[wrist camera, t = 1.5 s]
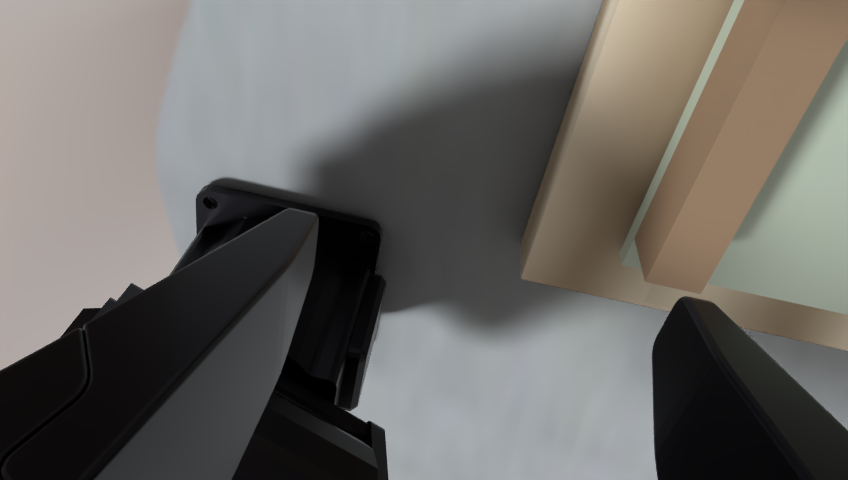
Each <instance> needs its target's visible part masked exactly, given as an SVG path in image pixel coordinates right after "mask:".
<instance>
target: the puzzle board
mask: <svg viewBox="0 0 848 480" xmlns="http://www.w3.org/2000/svg"><path fill="white" fill-rule="evenodd" d="M733 2H734V0H603V2H602V5H601V8H600V11H599V14H598V17H597V20H596V23H595V26H594V29H593V32H592V34H591V37H590V40H589V43H588V46H587V49H586V52H585V55H584V58H583V61H582V64H581V67H580V70H579V73H578V76H577V79H576V82H575V85H574V88H573V90H572V93H571V96H570V99H569V102H568V105H567V108H566V111H565V114H564V117H563V120H562V123H561V126H560V129H559V132H558V135H557V138H556V141H555V144H554V147H553V149H552V152H551V155H550V158H549V161H548V164H547V167H546V170H545V173H544V176H543V179H542V182H541V185H540V188H539V191H538V194H537V197H536V200H535V203H534V205H533V208H532V211H531V214H530V217H529V220H528V223H527V226H526V229H525V232H524V235H523V238H522V241H521V279H523V280H528V281H532V282H537V283H541V284H546V285H550V286H555V287H559V288H564V289H568V290H573V291H578V292H582V293H587V294H591V295H596V296H600V297H605V298H609V299H614V300H618V301H623V302H628V303H632V304H637V305H641V306H646V307H650V308H655V309H659V310H664V311H668V312H671V310H672V308H673V306H674V304H675V303H676V301H677V300H678V299H679V298H681V297H684V296H689V297H694V298H698V299H703V300H707V301H711V302H713V303H715V304H716V305H717V306H718V307H719V308H720V309H721V310H722V311H723V312H724V313H725V314H726V315H727V316H728V317H730V318H731V319H732V320H733V321H734V322H735V323H736V324H737V325H738V326H739V327H741V328H746V329H750V330H755V331H759V332H764V333H768V334H773V335H778V336H782V337H787V338H791V339H796V340H800V341H805V342H809V343H814V344H818V345H823V346H828V347H832V348H837V349H841V350H846V351H848V315H846V314H842V313H837V312H833V311H828V310H824V309H819V308H815V307H810V306H806V305H801V304H796V303H792V302H787V301H783V300H778V299H774V298H769V297H765V296H760V295H756V294H751V293H747V292H742V291H738V290H733V289H728V288H724V287H719V286H715V285H710V284H706V286H705V288H704V289H703V291H702V293H701V294H698V293H693V292H689V291H684V290H679V289H675V288H670V287H666V286H661V285H657V284H652V283H648V282H645V280H644V276H643V272H642V269H638V268H633V267H629V266H624V265H622V263H621V259H620V254H619V253H620V250H621V248H622V246H623V244H624V242H625V239H626V237H627V235H628V233H629V231H630V228H631V226H632V224H633V222H634V220H635V217H636V215H637V213H638V211H639V209H640V206H641V204H642V202H643V200H644V198H645V195H646V193H647V191H648V189H649V187H650V184H651V182H652V180H653V178H654V176H655V173H656V171H657V169H658V167H659V165H660V162H661V160H662V158H663V156H664V154H665V151H666V149H667V147H668V145H669V143H670V140H671V138H672V136H673V134H674V132H675V129H676V127H677V125H678V123H679V120H680V118H681V116H682V114H683V112H684V109H685V107H686V105H687V103H688V101H689V98H690V96H691V94H692V92H693V90H694V87H695V85H696V83H697V81H698V79H699V76H700V74H701V72H702V70H703V68H704V65H705V63H706V61H707V59H708V57H709V54H710V52H711V50H712V48H713V46H714V43H715V41H716V39H717V37H718V35H719V32H720V30H721V28H722V26H723V24H724V21H725V19H726V17H727V15H728V13H729V10H730V8H731V6H732V4H733Z"/></svg>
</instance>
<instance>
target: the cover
mask: <svg viewBox="0 0 848 480" xmlns="http://www.w3.org/2000/svg"><path fill="white" fill-rule="evenodd" d="M619 254H620V259H621V263H622V265H624V266H629V267H633V268H638V269H642V272H643V276H644V280H645V282H648V283H652V284H657V285H661V286H666V287H670V288H675V289H679V290H684V291H689V292H693V293H698V294H701V293H702V291H703V289H704V288H705V286H706V284H710V285H715V286H719V287H724V288H728V289H733V290H738V291H742V292H747V293H751V294H756V295H760V296H765V297H769V298H774V299H778V300H783V301H787V302H792V303H796V304H801V305H806V306H810V307H815V308H819V309H824V310H828V311H833V312H837V313H842V314H846V315H848V0H734V2H733V4H732V6H731V8H730V10H729V13H728V15H727V17H726V19H725V21H724V24H723V26H722V28H721V30H720V32H719V35H718V37H717V39H716V41H715V43H714V46H713V48H712V50H711V52H710V54H709V57H708V59H707V61H706V63H705V65H704V68H703V70H702V72H701V74H700V76H699V79H698V81H697V83H696V85H695V87H694V90H693V92H692V94H691V96H690V98H689V101H688V103H687V105H686V107H685V109H684V112H683V114H682V116H681V118H680V120H679V123H678V125H677V127H676V129H675V132H674V134H673V136H672V138H671V140H670V143H669V145H668V147H667V149H666V151H665V154H664V156H663V158H662V160H661V162H660V165H659V167H658V169H657V171H656V173H655V176H654V178H653V180H652V182H651V184H650V187H649V189H648V191H647V193H646V195H645V198H644V200H643V202H642V204H641V206H640V209H639V211H638V213H637V215H636V217H635V220H634V222H633V224H632V226H631V228H630V231H629V233H628V235H627V237H626V239H625V242H624V244H623V246H622V248H621V250H620V253H619Z"/></svg>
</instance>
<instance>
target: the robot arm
mask: <svg viewBox="0 0 848 480" xmlns="http://www.w3.org/2000/svg"><path fill="white" fill-rule="evenodd" d="M208 197H212V198H214V199H215V200H216V201H217V203H213V202H211V201H210V200H209V199H208ZM196 225H197V236H196V237H195V239H194V240H193V242H192V243H191V245H190V246H189V247H188V249H187V250H186V252H185V253H184V255H183V256H182V258H181V259H180V261H179V262H178V263H177V265H176V266H175V268H174V269H173V271H172V272H171V274H170V275H169V276H168V277H166V278H164V279H163V280H161V281H159V282H157V283H156V284H154V285H152V286H150V287H149V288H147V289H145V290H143V289H141V288H139V287H138V286H136V285H134V284H132V283H131V284H130V286H129V287H128V288H127V289H126V291H125V292H124V293H123V294H122V295H121V297H120V298H119V299H118V300H117V301H116V300H114V299H112V298H110V299H109V300H108V301H107V302H106V303H105V305H104V306H103V307H102V308H90V309H83V310H82V311H81V313H80V314H79V315H78V316H77V317H76V319H75V320H74V321H73V322H72V324H71V325H70V326H69V327H68V329H67V330H66V331H65V332H64V334H63V335H62V336H61V337H60V338H59V339H58V340H56V341H54V342H52V343H50V344H49V345H47V346H45V347H43V348H41V349H39V350H38V351H36V352H34V353H32V354H30V355H28V356H26V357H24V358H23V359H21V360H19V361H17V362H15V363H14V364H12V365H10V366H8V367H6V368H4V369H2V370H0V480H388V469H387V455H386V441H385V430H384V429H383V428H381V427H379V426H378V425H376V424H374V423H373V422H371V421H368V422H367V423H366V422H364V421H363V420H361V419H359V418H357V417H356V416H354V415H352V414H350V413H349V412H347V411H351V410H353V409H354V408H356V407H357V406H358V402H359V398H360V394H361V390H362V386H363V383H364V379H365V375H366V371H367V367H368V363H369V359H370V355H371V351H372V347H373V343H374V339H375V335H376V331H377V327H378V322H379V317H380V312H381V306H382V301H383V296H384V291H385V286H386V281H385V280H384V278H383V277H382V276H381V275H377V274H375V273H376V268H377V262H378V257H379V252H380V246H381V241H382V235H383V231H382V228H381V226H380V225H379V224H378V223H377V222H376V221H373V220H371V219H366V218H362V217H357V216H353V215H348V214H344V213H339V212H334V211H330V210H325V209H321V208H316V207H312V206H307V205H303V204H298V203H294V202H289V201H285V200H280V199H276V198H271V197H266V196H262V195H257V194H253V193H248V192H244V191H239V190H235V189H230V188H226V187H221V186H217V185H207V186H204V187H203V188H202V190H201V191H200V192H199V194H198V195H197V198H196ZM362 232H370V233H371V234H372V235H373V236H372V237H367V236H365V235H364V234H363V233H362ZM652 375H653V419H654V449H655V461H656V470H657V477H658V480H848V430H847V429H846V428H845V427H844V426H843V425H842V424H840V423H839V422H838V421H837V420H836V419H835V418H834V417H833V416H832V415H831V414H830V413H829V412H828V411H827V410H826V409H825V408H824V407H823V406H822V405H821V404H820V403H819V402H817V401H816V400H815V399H814V398H813V397H812V396H811V395H810V394H809V393H808V392H807V391H806V390H805V389H804V388H803V387H802V386H801V385H800V384H799V383H798V382H797V381H795V380H794V379H793V378H792V377H791V376H790V375H789V374H788V373H787V372H786V371H785V370H784V369H783V368H782V367H781V366H780V365H779V364H778V363H777V362H776V361H775V360H773V359H772V358H771V357H770V356H769V355H768V354H767V353H766V352H765V351H764V350H763V349H762V348H761V347H760V346H759V345H758V344H757V343H756V342H755V341H754V340H753V339H752V338H750V337H749V336H748V335H747V334H746V333H745V332H744V331H743V330H742V329H741V328H740V327H739V326H738V325H737V324H736V323H735V322H734V321H733V320H732V319H731V318H730V317H728V316H727V315H726V314H725V313H724V312H723V311H722V310H721V309H720V308H719V307H718V306H717V305H716V304H715V303H713V302H711V301H707V300H703V299H698V298H694V297H689V296H684V297H681V298H679V299H678V300H677V301H676V303H675V304H674V306H673V308H672V310H671V312H670V313H669V315H668V317H667V319H666V321H665V322H664V324H663V326H662V328H661V330H660V331H659V333H658V335H657V337H656V339H655V342H654V345H653V351H652ZM345 410H347V411H345Z"/></svg>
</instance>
